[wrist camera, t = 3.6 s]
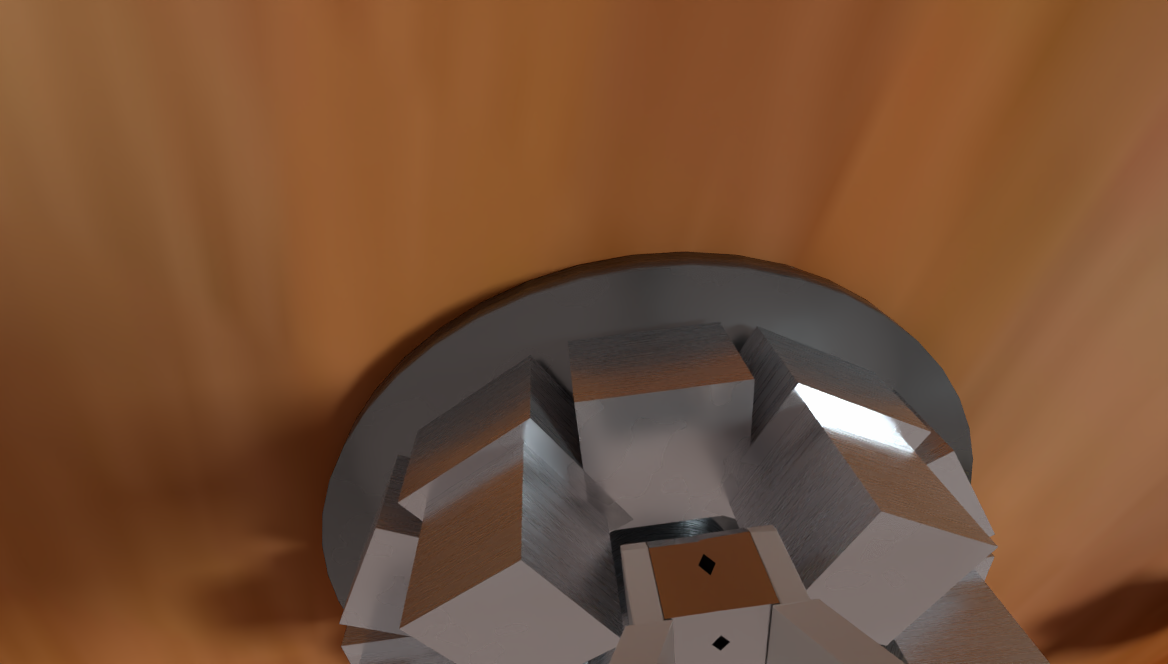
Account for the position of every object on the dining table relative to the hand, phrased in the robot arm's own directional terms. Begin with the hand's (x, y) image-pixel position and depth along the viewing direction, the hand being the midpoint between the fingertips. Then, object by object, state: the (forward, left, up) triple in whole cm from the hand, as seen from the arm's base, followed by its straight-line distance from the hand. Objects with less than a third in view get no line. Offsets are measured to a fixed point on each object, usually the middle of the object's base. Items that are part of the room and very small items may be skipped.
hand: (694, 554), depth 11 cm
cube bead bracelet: (+7, 0, -5) cm, 8 cm away
